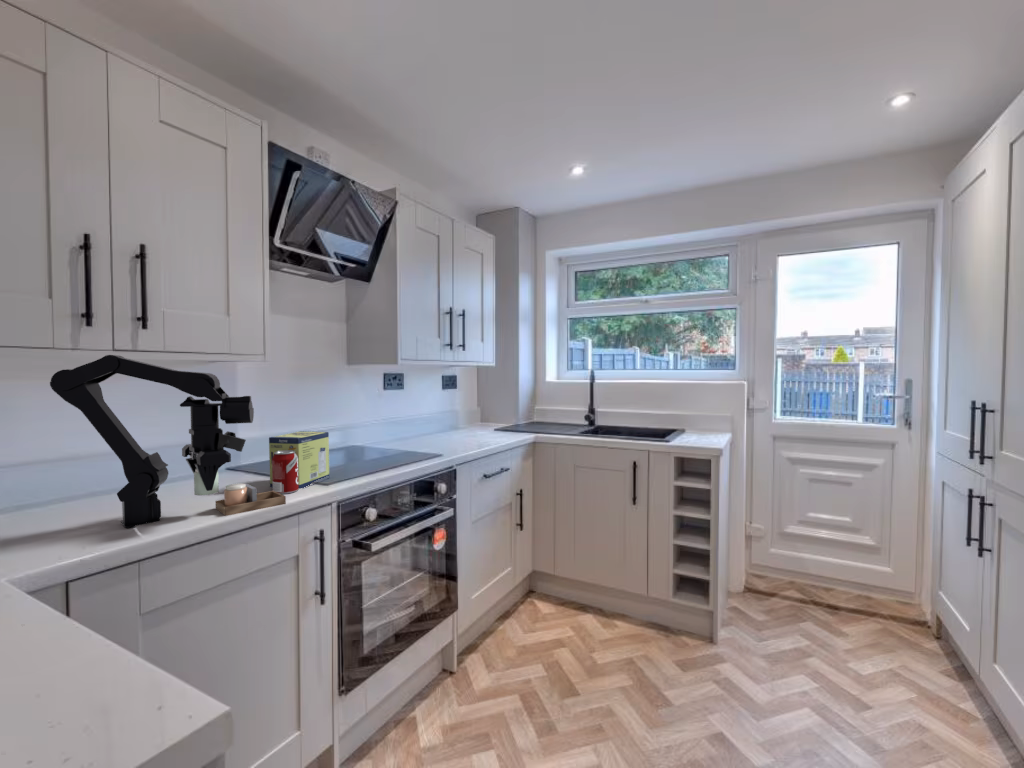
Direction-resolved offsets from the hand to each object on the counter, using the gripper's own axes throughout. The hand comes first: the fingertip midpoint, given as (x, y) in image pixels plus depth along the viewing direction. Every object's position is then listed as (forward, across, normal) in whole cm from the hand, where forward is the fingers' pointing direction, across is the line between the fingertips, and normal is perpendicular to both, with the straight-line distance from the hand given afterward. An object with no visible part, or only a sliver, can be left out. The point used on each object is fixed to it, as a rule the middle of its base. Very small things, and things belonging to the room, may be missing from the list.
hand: (206, 488), depth 117 cm
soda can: (+7, +9, -22) cm, 25 cm away
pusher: (+7, 0, -10) cm, 12 cm away
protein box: (+7, +18, -30) cm, 36 cm away
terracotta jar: (+6, 0, -6) cm, 9 cm away
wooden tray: (+7, 0, -10) cm, 12 cm away
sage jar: (+1, 0, 0) cm, 1 cm away
